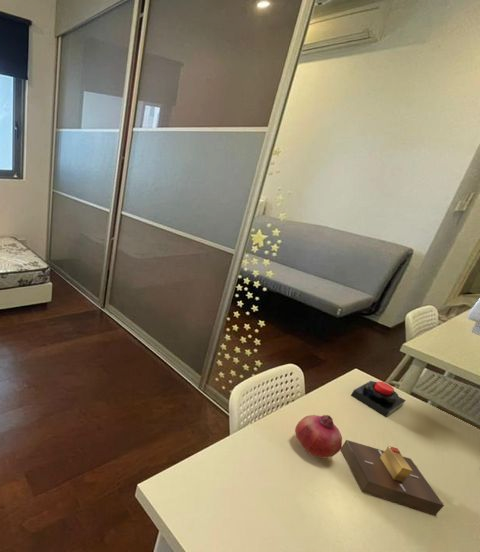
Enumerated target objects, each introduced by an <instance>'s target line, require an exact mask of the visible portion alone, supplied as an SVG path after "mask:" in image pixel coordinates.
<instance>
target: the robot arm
mask: <svg viewBox="0 0 480 552" xmlns="http://www.w3.org/2000/svg"><path fill="white" fill-rule="evenodd" d="M466 315H467V316H466V319H468V320H470V321H472V322H474V325H473V327H472V328H471V329H470V332H471V333H472V334H474V335H478V336H480V297H479V298H478V299H477V301H476V302H475V304H474V305H473V306H472V307H471V309H470V310H469V312H468V314H466Z"/></svg>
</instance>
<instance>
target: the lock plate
mask: <svg viewBox="0 0 480 552" xmlns="http://www.w3.org/2000/svg"><path fill="white" fill-rule="evenodd" d="M340 451H341V453H342V455H343V457H344V459H345V461H346V463H347V465H348V467H349V469H350V471H351V473H352V475H353V477H354V479H355V481H356V483H357V485H358V488H359V489H360V490H361V492H362V493H365V494H368V495H371V496H374V497H377V498H380V499H384V500H386V501H388V502H389V501H390V502H393V503H396V504H399V505H401V506H405V507H408V508H411V509H414V510H418V511H421V512H424V513H427V514H430V515H433V516H436V515H437V514H438V513H440V511H441V510H442V509H443V508H444V507H445V504H444V503H443V501H441V499H440V498H439V496H438V495H437V494H436V492H435V490H434V489H433V488H432V486H431V485H430V484H429V482H428V481H427V479H426V478H425V477H424V475H423V474H422V473H421V470H420V469H419V468H418V467H417V466H416V464H415V463H414V461H413V460H412V458H409V457H406V456H403V458H404V459H405V461H406V462H407V463H408V465H409V466H410V468H411V469H412V472H411V473H410V474H409V476H408V477H407V478H406V479H405V481H404V482H400V481H397V480H394V479H393V478H392V476H391V474H390V473H389V471H388V470H387V468H386V466H385V465H384V463H383V462H382V460H381V458H380V457H381V455H382V454H383V453H384V451H385V450H383V449H380V448H376V447H373V446H369V445H366V444H362V443H358V442H355V441H352V440H348V439H346V440H345V441H344V442H343V443H342V447H341V449H340Z"/></svg>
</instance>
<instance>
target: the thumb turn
mask: <svg viewBox="0 0 480 552" xmlns="http://www.w3.org/2000/svg"><path fill="white" fill-rule="evenodd" d="M383 451H384V453H383V454H382V455H381V457H380V458H381V460H382V462H383V463H384V465H385V466H386V468H387V470H388V471H389V473H390V474H391V476H392V478H393V479H394V480H397V481H400V482H404V481H405V479H406V478H407V477H408V476H409V474H410V473H411V472H412V469H411V468H410V466H409V465H408V463H407V462H406V461H405V459H404V458H403V457H404V456H403V455H402V453H401V451H400V449H399V448H397V447H394V446H389V445H388V446H387V447H386V449H385V450H383Z"/></svg>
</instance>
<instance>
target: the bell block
mask: <svg viewBox="0 0 480 552" xmlns="http://www.w3.org/2000/svg"><path fill="white" fill-rule="evenodd" d="M377 382H378V381H372V380H369V381H368V382H366V383H364V384H362V385H360V386H358V387H356V388H354V389H353V391H352V392H351V394H350V396H351V397H352V398H354V399H355V400H356V401H359V402H360V403H362V404H363V405H365V406H367V407H368V408H370V409H371V410H373V411H375V412H376V413H378V414H379V415H381V416H382V417H384V418H387V417H388V416H390V415H391V414H393V413H394V412H396V411H397V410H398V409H400V408H401V407H403V405H404V404H405V402H406V399H404V398H402V397H401V396H399V394H398V392H396V391H395V390H394V391H393V393H392V394H391V395H390V396H387V395H384V394H382V393H380V392H378V391H377V390H376V389H375V388H374V386H375V384H376V383H377Z"/></svg>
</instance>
